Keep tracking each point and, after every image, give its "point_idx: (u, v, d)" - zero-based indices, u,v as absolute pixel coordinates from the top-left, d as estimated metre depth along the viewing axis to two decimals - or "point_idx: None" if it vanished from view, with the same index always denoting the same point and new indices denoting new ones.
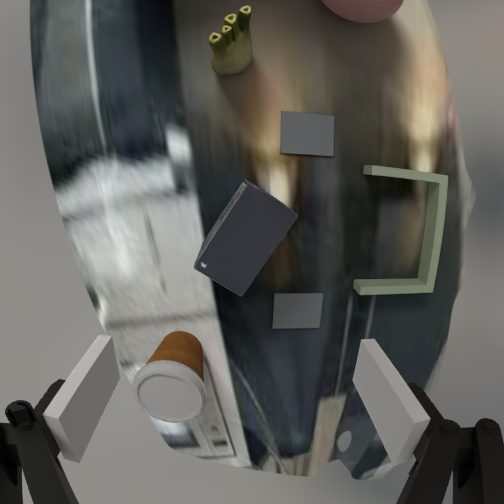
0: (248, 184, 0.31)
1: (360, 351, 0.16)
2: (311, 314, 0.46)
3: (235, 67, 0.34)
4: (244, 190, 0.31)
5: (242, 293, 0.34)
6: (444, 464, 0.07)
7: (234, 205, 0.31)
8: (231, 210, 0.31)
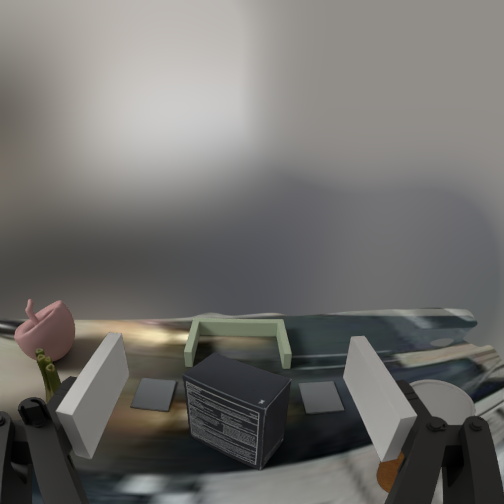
0: (184, 374, 0.33)
1: (350, 348, 0.16)
2: (321, 387, 0.45)
3: None
4: (188, 376, 0.32)
5: (288, 378, 0.33)
6: (432, 461, 0.07)
7: (201, 382, 0.31)
8: (206, 384, 0.31)
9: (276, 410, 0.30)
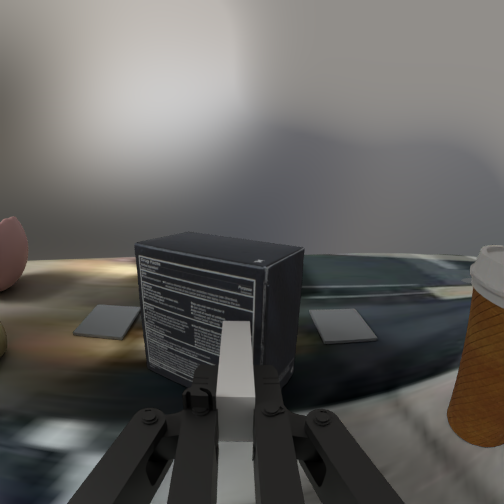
0: (136, 243, 0.21)
1: None
2: (340, 315, 0.34)
3: None
4: (143, 244, 0.21)
5: (299, 247, 0.22)
6: (283, 446, 0.09)
7: (161, 248, 0.20)
8: (167, 249, 0.20)
9: (284, 290, 0.19)
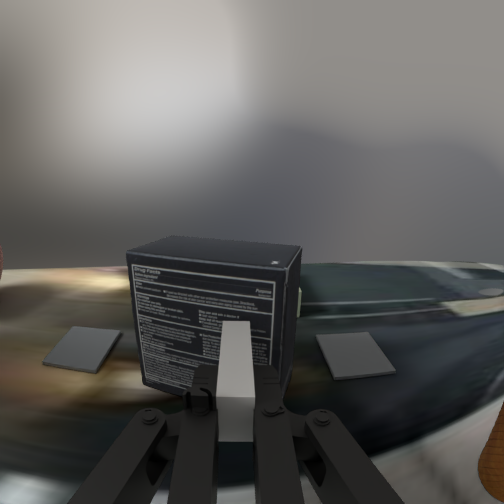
0: (128, 251, 0.19)
1: None
2: (352, 340, 0.29)
3: None
4: (137, 252, 0.19)
5: None
6: (283, 446, 0.09)
7: (160, 255, 0.19)
8: (168, 255, 0.19)
9: (294, 289, 0.19)
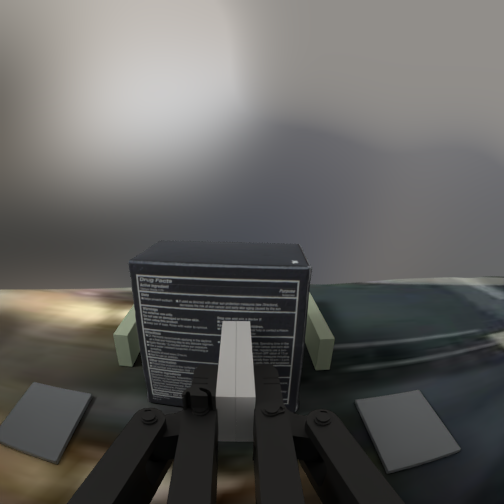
0: (131, 261, 0.18)
1: None
2: (402, 406, 0.19)
3: None
4: (142, 261, 0.18)
5: (295, 244, 0.23)
6: (283, 446, 0.09)
7: (171, 262, 0.17)
8: (181, 262, 0.17)
9: None
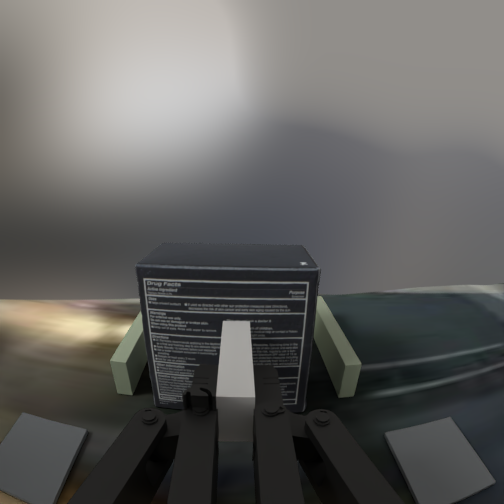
0: (138, 264, 0.17)
1: None
2: (434, 437, 0.16)
3: None
4: (149, 264, 0.17)
5: (298, 245, 0.23)
6: (283, 446, 0.09)
7: (180, 265, 0.17)
8: (190, 265, 0.17)
9: None
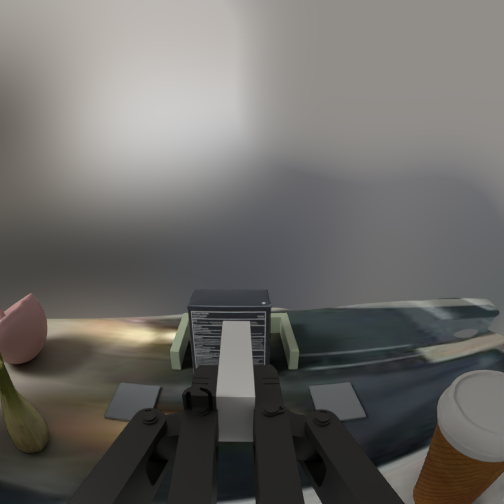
0: (188, 305, 0.39)
1: None
2: (336, 390, 0.37)
3: (40, 422, 0.24)
4: (194, 305, 0.39)
5: None
6: (283, 446, 0.09)
7: (208, 305, 0.39)
8: (212, 305, 0.39)
9: None
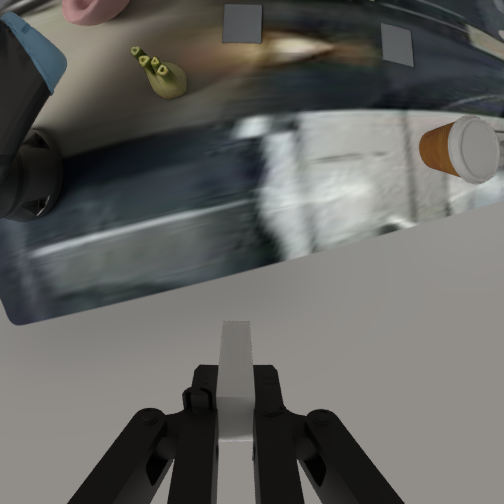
0: None
1: None
2: (399, 34, 0.38)
3: (182, 73, 0.37)
4: None
5: None
6: (283, 446, 0.09)
7: None
8: None
9: None
